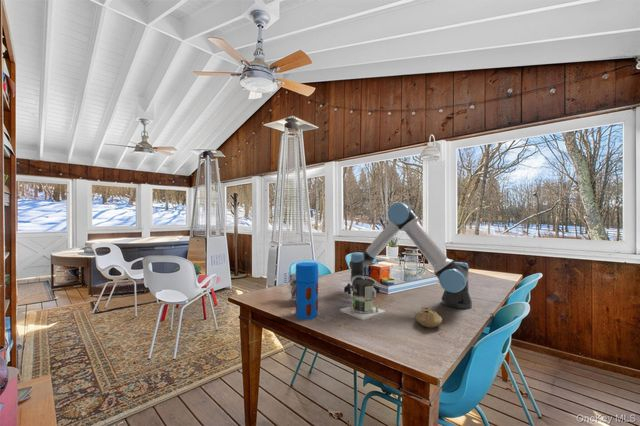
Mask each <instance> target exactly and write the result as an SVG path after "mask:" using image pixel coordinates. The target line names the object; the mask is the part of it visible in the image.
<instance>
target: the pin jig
mask: <svg viewBox="0 0 640 426" xmlns="http://www.w3.org/2000/svg"><path fill="white" fill-rule="evenodd" d="M339 312H341V313H344V314H347V315H349V316H352V317H353V318H356V319H359V320H361V321H366V320H368V319H372V318H375V317H377V316H381V315H384V314H386V310H384V309H381V308H379V305H377V304H376V305H375V306H373V311H372V312H370V313H359V312H355V311H354V307H353V305H350V306H347V307H343V308H340V309H339Z"/></svg>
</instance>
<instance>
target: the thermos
mask: <svg viewBox="0 0 640 426" xmlns="http://www.w3.org/2000/svg"><path fill="white" fill-rule="evenodd" d="M295 274H296V300H295V314H296V315H295V317H296V318H297V319H299V318H300V319H299V320H303V319H310V320H314V318H315V319H317V318H318V316H319V264H318V263H316V262H312V261H310V262H309V261H307V262H306V261H305V262H298V263H296V264H295ZM316 317H317V318H316Z"/></svg>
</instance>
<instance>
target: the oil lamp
mask: <svg viewBox="0 0 640 426" xmlns="http://www.w3.org/2000/svg"><path fill="white" fill-rule="evenodd" d="M415 320H416V321H417V322H418V323H419V324H420V325H421V326H422V327H426V328H431V329H432V328H436V327H438V325H440V324H441V323H442V322H443V318H442V316H441V315H439V314H438V313H437V312H436V311H435V310H432V309H431V308H430V307H424V306H423V307H421V309H420V311H419V312H418V313H417V314H416V315H415Z"/></svg>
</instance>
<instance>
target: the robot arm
mask: <svg viewBox="0 0 640 426" xmlns="http://www.w3.org/2000/svg"><path fill="white" fill-rule="evenodd" d="M387 218H388V220H389V221H390V222H389V223H388V224H387V225H386V226H385V227H384V228H383V230H382V231H381V232H380V233H379V234H378V235H377V237H376V238H374V239H373V241H372V243H370V245H369V246H368V247H367V248H366V249H365V250H364V251H363V252H352V253H351V256H350V281H351V283H347V284H346V285H345V287H344V288H343V289H344V290H343V291H344V293H347V295H350V298H353V281H354V280H358V279H365V267H367V266H370V265H372V264H373V262H374V261H375V259H376V257H378V256H379V254H380V253H381V252H382V251H383V250H384V249H385V248H386V246H388V244H389V243H390V242H391V241H392V240H393V239H394V238H395V237H396V235H397V234H398V233H400V232H404V233H406V235H407V236H408V237H409V239H410V240H411V242H412V243H413V244H414V245H415V246H416V248H417V249H418V250H419V251H420V253H421V254H422V255H423V256H424V257H425V259H426V260H427V262H428V263H429V264H430V265H431V266H432V268H433V275H435V276H436V278H437V279H438V282H439V284H440V286H441V288H442V289H443V293H442V296H441V304H442V305H444V306H446V307H449V308H454V309H471V308H472V307H473V301H472V297H471V295H470V291H469V270H470V267H469V264H468V263H467V262H462V261H461V262H460V261H455V260H453V259H451V258H450V259H449V258H448V256H447V255H446V254H445V253H444V251H443V250H442V249H441V248H440V247H439V246H438V245H437V243H436V242H435V241H434V240H433V238H432V237H431V236H430V235H429V234H428V232H427V231H426V230H425V228H424V227H423V226H422V225H421V224H420V223H419V217H418V216H417V214H416V210H415V208H414V206H413V205H412V204H410V203H408V202H402V201H398V202H394V203H393V204H391V205H390V206H389V207H388V210H387ZM378 294H380V287H378V286H377V285H375V284H373V298H377V295H378Z"/></svg>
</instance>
